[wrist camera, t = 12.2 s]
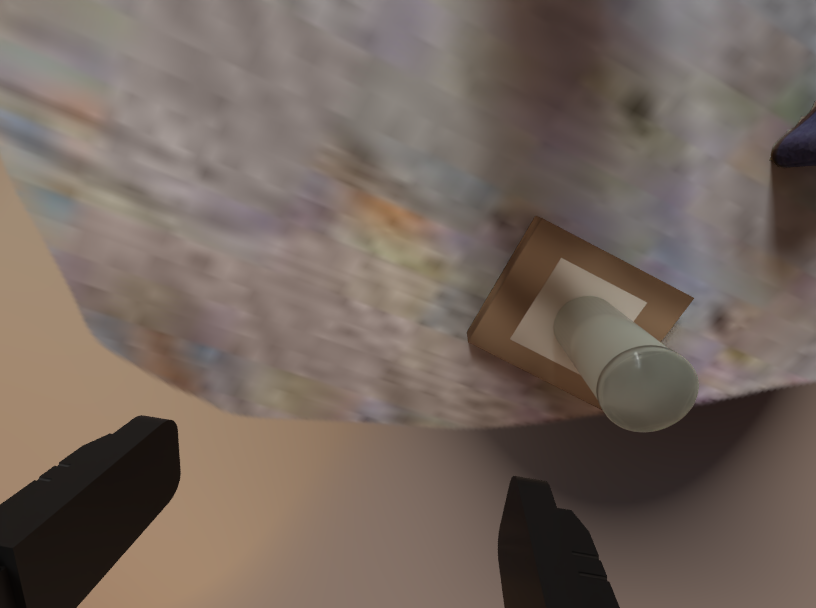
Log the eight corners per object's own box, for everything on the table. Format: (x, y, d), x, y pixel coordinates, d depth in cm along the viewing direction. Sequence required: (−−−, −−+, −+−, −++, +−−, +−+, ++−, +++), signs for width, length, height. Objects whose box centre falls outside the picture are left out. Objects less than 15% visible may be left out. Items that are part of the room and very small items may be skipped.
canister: (576, 283, 33) (638, 333, 22) (633, 313, 33) (719, 376, 23) (539, 337, 34) (581, 406, 24) (593, 365, 35) (658, 446, 24)
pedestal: (535, 215, 34) (542, 218, 32) (677, 290, 35) (694, 298, 32) (466, 332, 38) (468, 342, 35) (596, 398, 38) (607, 412, 36)
